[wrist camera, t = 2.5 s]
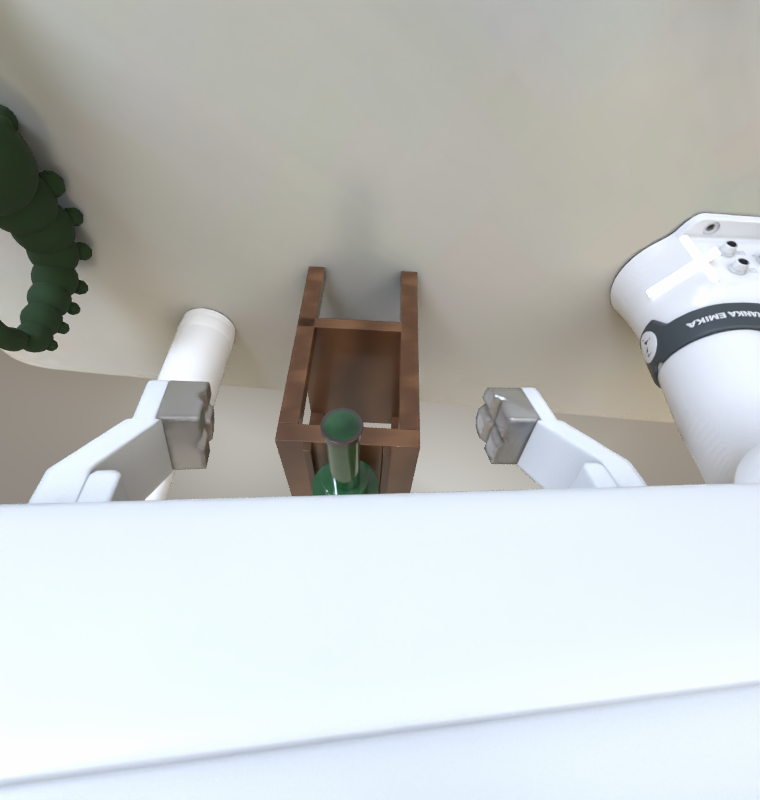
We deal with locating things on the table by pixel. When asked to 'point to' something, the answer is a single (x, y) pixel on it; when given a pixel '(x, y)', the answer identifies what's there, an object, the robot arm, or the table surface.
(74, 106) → the table surface
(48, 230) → the toy figurine
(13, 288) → the table surface
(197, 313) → the bottle
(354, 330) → the stand
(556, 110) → the table surface
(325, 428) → the bottle
